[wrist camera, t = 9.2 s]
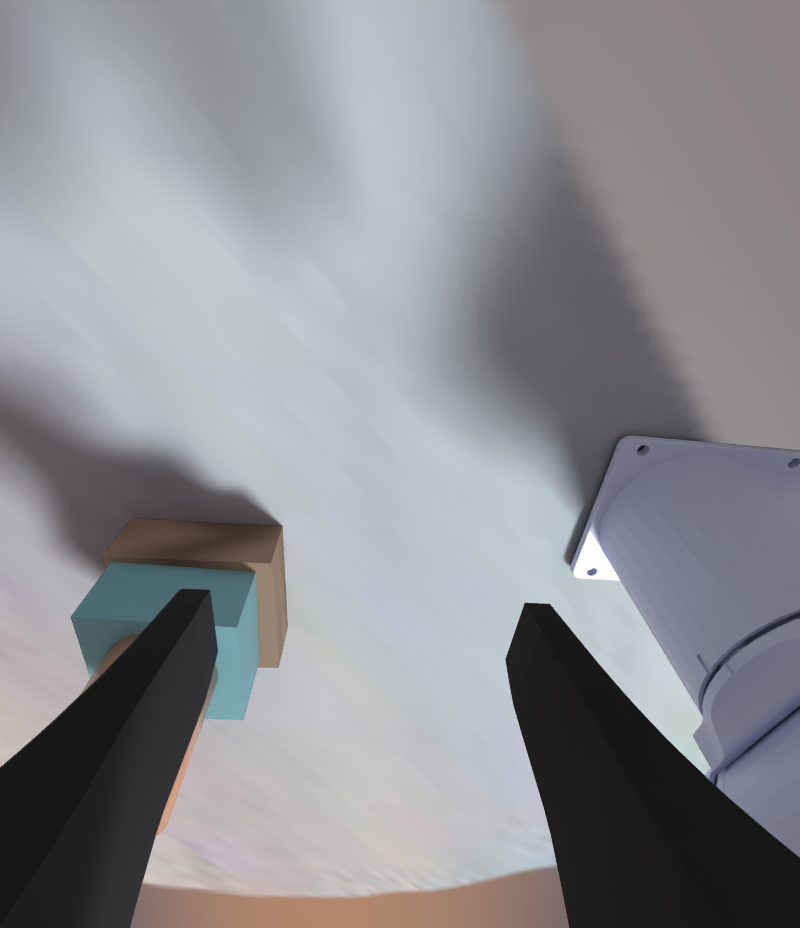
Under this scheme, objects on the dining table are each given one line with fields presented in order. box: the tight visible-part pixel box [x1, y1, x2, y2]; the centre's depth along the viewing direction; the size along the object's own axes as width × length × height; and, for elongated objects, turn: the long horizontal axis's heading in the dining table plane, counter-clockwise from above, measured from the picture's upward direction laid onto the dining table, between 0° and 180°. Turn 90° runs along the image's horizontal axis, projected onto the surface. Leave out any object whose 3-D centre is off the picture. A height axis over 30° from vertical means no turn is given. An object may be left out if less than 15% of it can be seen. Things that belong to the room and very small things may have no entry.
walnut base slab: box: [102, 519, 288, 668], centre depth 23 cm, size 7×7×3 cm
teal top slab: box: [71, 562, 259, 720], centre depth 20 cm, size 6×6×3 cm
